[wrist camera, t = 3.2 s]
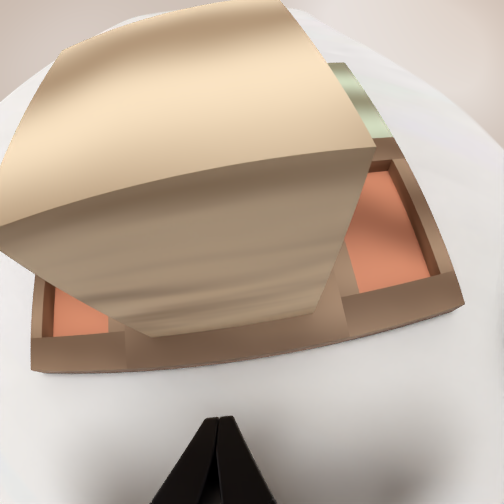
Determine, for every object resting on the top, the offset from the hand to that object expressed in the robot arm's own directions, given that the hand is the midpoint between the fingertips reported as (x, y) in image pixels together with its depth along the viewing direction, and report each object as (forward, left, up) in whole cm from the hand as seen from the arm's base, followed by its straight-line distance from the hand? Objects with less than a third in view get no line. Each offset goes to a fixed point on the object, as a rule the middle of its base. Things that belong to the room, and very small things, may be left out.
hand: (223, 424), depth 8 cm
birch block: (+7, +4, -5) cm, 10 cm away
